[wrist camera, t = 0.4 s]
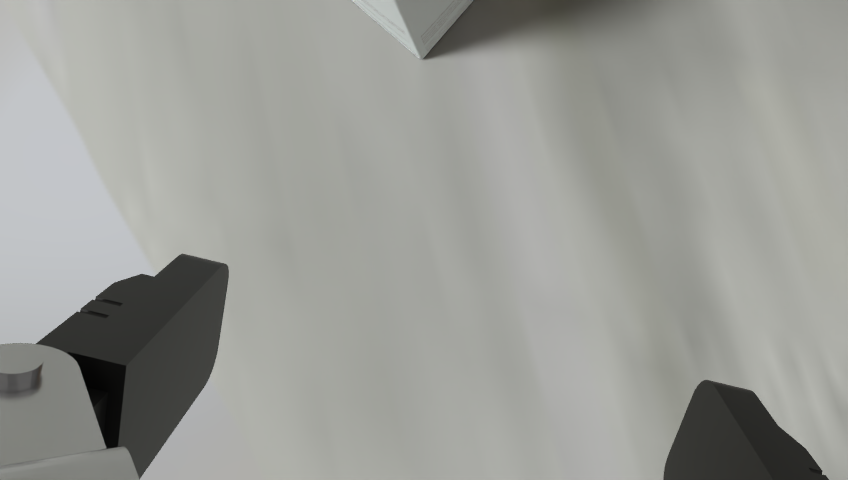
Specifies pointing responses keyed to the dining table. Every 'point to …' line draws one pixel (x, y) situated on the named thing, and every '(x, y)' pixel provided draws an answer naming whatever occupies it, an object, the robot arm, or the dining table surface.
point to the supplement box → (415, 20)
